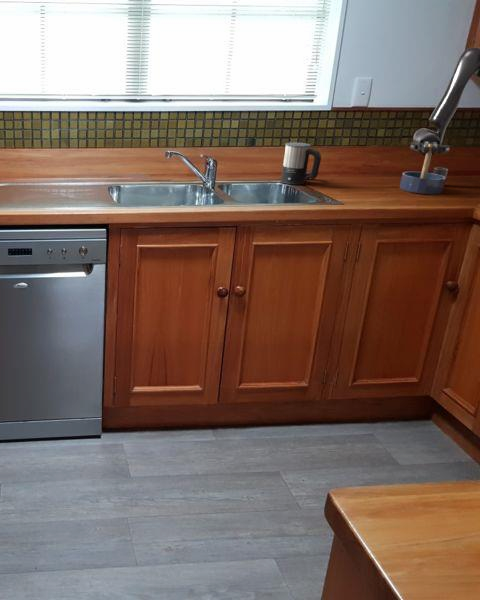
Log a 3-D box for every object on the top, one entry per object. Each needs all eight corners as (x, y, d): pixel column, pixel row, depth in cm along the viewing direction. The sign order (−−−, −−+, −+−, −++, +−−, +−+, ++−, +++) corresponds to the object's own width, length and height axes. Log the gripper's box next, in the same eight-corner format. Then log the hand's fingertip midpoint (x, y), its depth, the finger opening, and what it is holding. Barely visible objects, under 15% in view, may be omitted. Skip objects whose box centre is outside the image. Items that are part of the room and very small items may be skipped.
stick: (423, 187, 228) (434, 143, 222) (423, 188, 226) (434, 144, 220) (417, 186, 229) (428, 143, 222) (418, 187, 227) (428, 144, 221)
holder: (443, 186, 237) (447, 168, 235) (443, 188, 233) (448, 170, 231) (429, 184, 239) (434, 167, 236) (430, 187, 235) (434, 169, 233)
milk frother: (279, 183, 235) (285, 144, 229) (280, 176, 249) (285, 139, 243) (317, 187, 231) (325, 147, 225) (316, 179, 245) (323, 141, 239)
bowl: (440, 190, 231) (444, 174, 229) (442, 197, 219) (446, 180, 217) (399, 185, 237) (402, 170, 234) (398, 192, 225) (402, 176, 223)
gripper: (411, 133, 235) (411, 138, 221) (451, 136, 230) (454, 141, 215) (406, 152, 238) (406, 159, 224) (446, 156, 232) (449, 163, 218)
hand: (430, 150), depth 220 cm, fingers closed on stick, 2 cm apart
